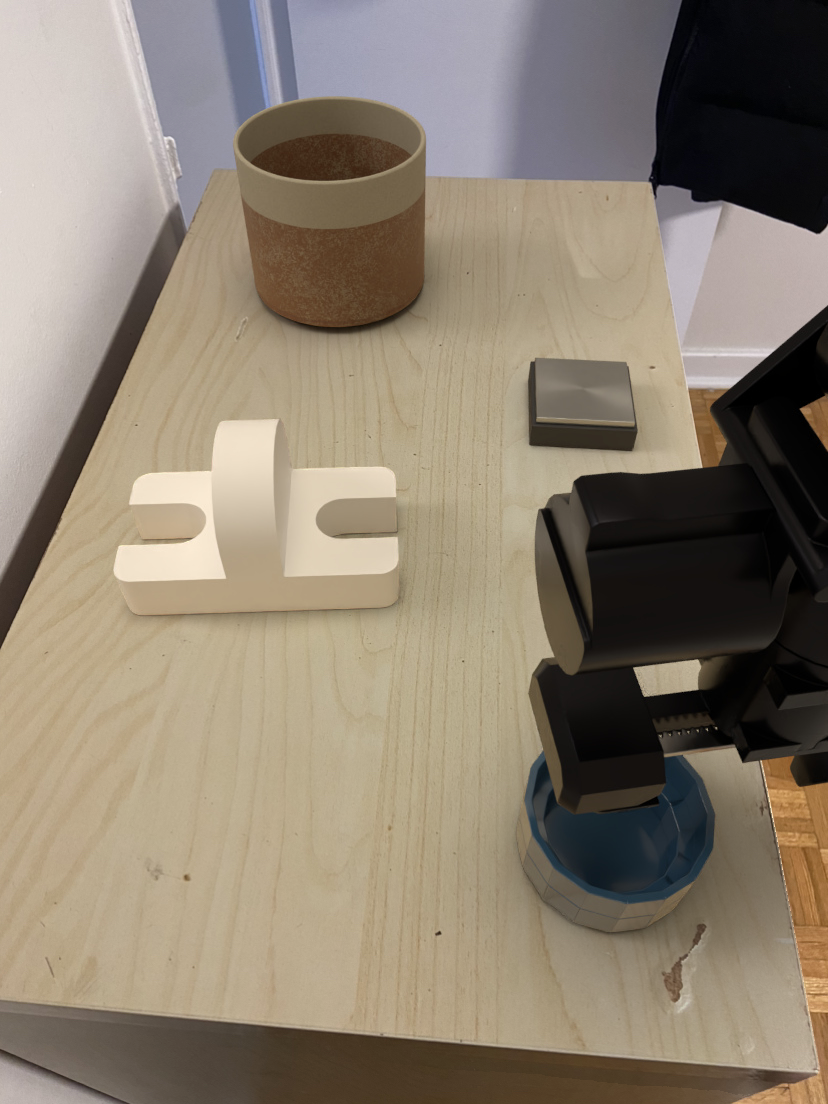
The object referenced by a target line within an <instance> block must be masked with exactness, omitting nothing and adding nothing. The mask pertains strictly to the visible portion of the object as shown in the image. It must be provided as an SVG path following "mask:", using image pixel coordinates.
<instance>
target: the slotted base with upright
mask: <svg viewBox="0 0 828 1104" xmlns="http://www.w3.org/2000/svg"><path fill="white" fill-rule="evenodd" d="M213 439H214V440H213V445H212V454H211V470H206V471H205V470H198V471H197V470H196V471H164V472H161V471H160V472H159V471H158V472H149V473H145V474H142V475H140V476H139V477H138V478H136V480H135V481H134V482H133V485H132V489H131V492H130V497H129V501H128V507H129V509H130V512H131V515H132V518H133V521H134V523H135V525H136V528H137V531H138V533H139V535H140V539H141V540H142V541H143V540H170V539H171V540H172V539H173V540H174V539H176V540H177V539H190V540H187V541H184V542H177V543H157V544H153V543H152V544H123V545H118V547H117V550H116V551H117V552H116V556H115V560H114V563H113V567H112V569H113V570H112V571H113V575H114V577H115V580H116V582H117V584H118V587H119V589H120V592H121V593H122V595H123V597H124V600H125V603H126V604H127V607H128V609H129V611H130V612H131V613H132V614H135V615H138V616H165V615H167V616H168V615H197V614H198V615H199V614H228V613H229V614H230V613H258V612H259V613H260V612H261V613H263V612H289V611H291V612H292V611H293V612H295V611H320V610H321V611H322V610H351V609H353V610H354V609H382V608H388V607H391V606H392V605H394V604H395V603H396V602H397V601H398V599H399V597H400V567H399V566H400V563H399V562H400V561H399V558H400V557H399V537H398V536H391V537H390V536H389V537H360V538H359V537H357V538H356V537H355V538H336V536H338V535H339V536H340V535H345V534H346V535H347V534H371V533H373V534H374V533H398V515H397V481H396V475H395V473H394V471H392V470H391V469H390V468H388V467H385V466H344V467H315V468H314V467H309V468H308V467H306V468H305V467H304V468H293V466H292V460H291V459H292V458H291V454H290V447H289V440H288V436H287V430H286V427H285V423H284V420H282V419H281V418H274V419H273V418H269V419H268V418H266V419H231V420H230V419H229V420H221V421H219V423H218V425H217V427H216V430H215V436H214V438H213Z"/></svg>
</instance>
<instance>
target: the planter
mask: <svg viewBox="0 0 828 1104" xmlns="http://www.w3.org/2000/svg"><path fill="white" fill-rule="evenodd" d="M232 140H233V141H232V148H233V153H234V161H235V167H236V173H237V180H238V185H239V192H240V198H241V204H242V210H243V216H244V222H245V230H246V235H247V242H248V247H249V254H250V259H251V260H250V261H251V267H252V273H253V278H254V279H253V280H254V286H255V289H256V292H257V294H258V296H259V298H260V299H261V300H262V302H263V303H264V304H265V305H266V306H267V307H268V308H269V309H271V310H272V311H273V312H275V313H276V314H278V315H280V316H281V317H284V318H286V319H287V320H288V319H289V320H291V321H294V322H298V323H301V324H305V325H310V326H315V327H316V326H317V327H324V328H348V327H356V326H363V325H368V324H371V323H375V322H378V321H382V320H384V319H387V318H389V317H391V316H393V315H395V314H397V313H399V312H401V311H403V310H404V309H405V308H406V307H408V306H410V304H412V303H413V301H414V300H415V299H417V297H418V295H419V294H420V292H421V290H422V288H423V285H424V283H425V282H424V281H425V261H426V260H425V253H426V252H425V249H426V185H427V184H426V183H427V181H426V179H427V178H426V177H427V174H426V173H427V171H426V170H427V135H426V130H425V129H424V126H422V123H420V122H419V120H418V119H417V118H416V117H414V116H413V115H412V114H410V113H408V111H405V110H403V109H401V108H400V107H397V106H394V105H392V104H390V103H387V102H383V101H379V100H374V99H369V98H363V97H355V96H342V95H341V96H338V95H335V96H334V95H331V96H327V95H326V96H314V97H305V98H299V99H294V100H290V101H286V102H281V103H279V104H276V105H272V106H270V107H267V108H265V109H263V110H261V111H258V112H256V113H255V114H253V115H252V116H250V117H249V118H248V119H246V120H245V121H244V122H243V123H242V124H241V125H240V126H239V127H238V128H237V130H236V132H235V133H234V136H233V139H232Z"/></svg>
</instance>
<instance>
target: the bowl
mask: <svg viewBox="0 0 828 1104" xmlns="http://www.w3.org/2000/svg"><path fill="white" fill-rule="evenodd" d="M664 762H665V775H666V785H665V786H664V788H663V790H662V792H661V794H660V795H659V796H657V797H658V800H659V805H658V806H655V807H650V808H644V809H640V810H635V811H630V812H625V813H618V812H613V813H606V814H596V813H594V812H589V813H582V814H576V815H574V814H573V813H571V812H570V811H568V810H567V809H565V808H564V807H562V806H561V805H559V804H558V803H557V800H556V796H555V792H554V789H553V785H552V781H551V777H550V774H549V770H548V766H547V762H546V758H545V755H544V751H543V750H541V752H540V754H538V756H537V758H536V759H535V760H534V761H533V763H532V764H531V766H530V767H529V772H528V775H527V776H528V777H527V780H526V785H525V789H524V792H523V793H524V794H523V796H522V800H521V801H522V802H521V806H520V811H519V815H518V819H517V826H516V831H515V837H516V842H517V843H516V844H517V847H518V853H519V857H520V862H521V863H520V864H521V867H522V869H523V871H524V872H525V874H526V875H527V877H528V879H529V880H530V881H531V883H532V885H533V886H534V888H535V890H536V892H537V893H538V894H539V896H540V897H541V899H543V901H545V902H546V903H547V904H549V905H550V906H551V907H553V908H554V909H555V910H556V911H558V912H559V913H560V914H562V916H564V917H566V918H567V919H569V920H570V921H571V922H573V923H574V924H578V925H581V926H584V927H588V928H592V929H595V930H599V931H602V932H606V933H618V932H627V931H634V930H640V929H641V930H642V929H645V928H648V927H650V926H651V925H653V924H654V923H656V922H657V921H659V920H661V918H664V917H665V916H667V915H668V914H669V913H671V912H672V911H674V910H675V908H676V907H677V906H678V904H679V903H680V902H681V900H682V899H683V898H684V897H685V895H686V894H687V893H688V891H689V890H690V889H691V887H692V886H693V885H694V884H695V882H696V881H697V880H698V877H699V876H700V874H701V872H702V871H703V869H704V867H705V865H706V864H707V862H708V860H709V858H710V856H711V855H712V853H713V851H714V845H715V844H714V843H715V842H714V841H715V826H716V825H715V824H716V812H715V809H714V807H713V804H712V800H711V797H710V795H709V792H708V790H707V787H706V784H705V781H704V779H703V777H702V776H701V775H700V774H699V773H698V772H697V770H696V769H695V768H694V767H693V765H692V764H691V762H690V761H688V759H687V758H686V757H685V755H679V756H672V757H665V758H664Z"/></svg>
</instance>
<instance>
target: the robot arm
mask: <svg viewBox="0 0 828 1104" xmlns="http://www.w3.org/2000/svg"><path fill="white" fill-rule="evenodd" d="M824 397H826V399H827V400H828V304H827V305H826V306H825V307H824V308H822V309H821V310H820V311H819V312H818V313H817V314H816V315H814V316H813V317H812V318H811V319H810V320H808V321H807V322H806V323H805V324H804V325H802V326H801V328H799V329H798V330H797V331H795V332H794V333H793V334H792V335H791V336H789V338H787V339H786V340H785V341H784V342H783V343H782V344H780V345H779V346H778V347H776V348H775V350H773V351H772V352H771V353H770V354H769V355H767V356H766V357H765V358H764V359H763V360H762V361H760V362H759V363H758V364H757V365H756V366H754V367H753V368H752V369H751V370H750V371H748V373H746V374H745V375H744V376H743V377H741V378H740V379H739V380H738V381H737V382H736V383H735V384H733V385H732V386H731V387H730V388H729V389H728V390H726V391H725V392H724V393H723V394H722V395H720V396H719V397H718V398H717V399H715V400H714V401H713V403H712V404H711V405H710V407H709V413H710V416H711V418H712V419H713V421H714V423H715V425H716V426H717V428H718V431H720V433H721V435H722V437H723V439H724V440H725V442H726V444H725V447H724V450H723V453H722V455H721V457H720V459H719V462H718V465H715V466H707V467H697V468H686V469H676V470H666V471H659V472H657V471H656V472H647V473H637V472H626V471H615V472H614V471H612V472H602V473H595V474H584V475H583V474H582V475H580V476H578V477H577V478H575V479H574V480H573V482H572V486H571V491H570V492H563V493H554V494H552V495H551V496H550V497H549V498H548V500H547V501H546V504H545V506H544V508H539V509H538V510H537V513H536V520H535V529H534V568H535V569H534V571H535V582H536V589H537V590H536V591H537V595H538V596H537V597H538V603H539V608H540V613H541V619H542V622H543V627H544V631H545V634H546V637H547V641H548V644H549V647H550V649H551V652H552V654H553V656H551V657H544V658H542V659H540V661H539V663H538V664H537V666H536V668H535V669H534V670H533V672H532V673H531V677H530V683H529V688H528V693H527V694H528V698H529V702H530V705H531V709H532V713H533V718H534V721H535V724H536V728H537V731H538V736H539V740H540V743H541V747H542V751H544V755H545V758H546V762H547V766H548V770H549V774H550V777H551V781H552V785H553V789H554V792H555V796H556V800H557V803H558V804H559V805H561V806H562V807H564V808H565V809H567V810H568V811H570V812H571V813H573V814H574V815H576V814H582V813H589V812H594V813H596V814H606V813H613V812H618V813H625V812H630V811H635V810H640V809H644V808H650V807H655V806H658V805H659V800H658V797H657V796H659V795H660V794H661V792H662V790H663V788H664V786H665V785H666V775H665V762H664V758H665V757H672V756H679V755H683V756H685V755H693V754H700V753H708V752H713V751H721V750H729V749H736V752H737V754H738V756H739V758H740V760H741V763H742V764H748V763H754V762H760V761H761V762H762V761H768V760H769V761H770V760H775V759H782V758H789V757H793V758H792V760H791V762H790V765H789V770H790V774H791V776H792V777H793V780H794V782H795V784H796V785H797V787H798V788H804V787H811V786H816V785H822V784H828V449H827V447H826V445H824V443H823V441H822V440H821V439H820V437H819V436H818V434H817V432H816V431H815V429H814V428H813V427H812V425H811V424H810V422H809V421H808V419H807V418H806V416H805V415H804V413H803V411H802V410H801V409H802V408H805V407H806V406H809V405H810V404H812V403H814V402H816V401H818V400H820V399H822V398H824ZM697 660H698V662H699V665H700V669H699V670H698V671H699V672H698V675H697V689H692V690H684V691H678V692H677V691H676V692H670V693H661V694H655V695H647V696H644V693H643V691H642V688H641V685H640V682H639V680H638V679H639V678H638V677H637V674H636V672H635V671H636V670H635V668H643V667H650V666H657V665H666V664H675V663H681V662H689V661H697Z"/></svg>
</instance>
